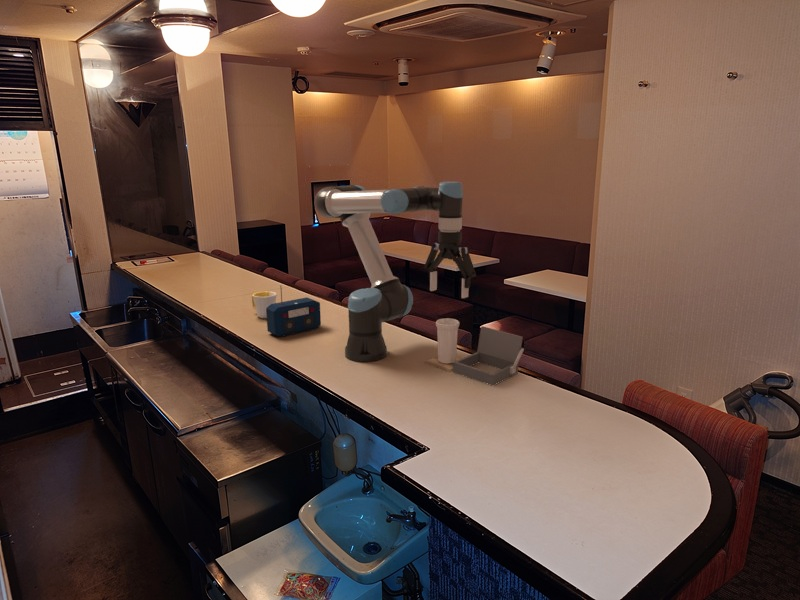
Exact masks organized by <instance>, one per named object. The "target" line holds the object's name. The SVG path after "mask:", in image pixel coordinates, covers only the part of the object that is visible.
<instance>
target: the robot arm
mask: <svg viewBox="0 0 800 600" xmlns="http://www.w3.org/2000/svg"><path fill="white" fill-rule="evenodd" d="M438 185H439V186H438V187H433V186H432V187H430V186H424V185H422V186H421V185H420V186H419V185H418V186H414V187H410V188H391V189H372V190H371V189H369V190H367V189H366V188H365V187H363V186H361V185H359V184H358V185H357V184H349V185H339V186H335V185H334V186H326V187H323V188H321V189H320V190H319V191H318V192H317V193H316V195H315V197H314V201H313V202H314V207H315V210H316V211H317V213H318V214H319V215H320V216H322V217H323V218H326V219H339V220H340V222H341V225H342V226H343V227H346V228H348V232H349V233H350V236H351V238H352V241H353V243H354V245H355V247H356V250H357V252H358V255H359V258H360V260H361V262H362V264H363V266H364V267H363V268H364V270H365V272H366V274H367V276H368V278H369V281H370V283H371V286H370V287H366V288H360V289H357V290H354V291H352V292H351V293H350V294H349V296H348V303H347V309H348V310H347V311H348V333H349V334H348V337H347V340H346V341H347V342H346V346H345V348H344V355H345V358H346V359H348V360H351V361H355V362H362V363H363V362H364V363H365V362H367V363H368V362H375V361H379V360H382V359H384V358H385V357H386V356H387V355H388V348H387V345H386V342H385V339H384V335H383V333H382V332H383V329H382V328H383V327H382V325H383V324H384V323H385V322H388V321H393V320H395V319H400V318H402V317H404V316H406V315H408V314H409V313H410V311H411V310H412V306H413V304H414V295H413V293H412V290H411V289H410V288H409V286H407V285H405V284H402V283H401V281H400V278H399V277H397V276H395V275H393V272H392V270H391V268H390V266H389V263H388V261H387V259H386V256H385V254H384V252H383V249H382V246H381V244H380V242H379V240H378V237H377V235H376V232H375V230H374V228H373V226H372V222H371V221H370V216H371V214H390V215H399V214H405V213H413V212H421V211H433V212H434V211H435V212H438V230H439V231H438V235H437V237H438V239H437V241H438V242H433V243H431V247H430V252H429V254H428V256H427V259H426V261H425V263H424V266H423V268H424V270H427V271H428V280H429V291H430V292H434V291H436V290H438V289H437V288H438V271H437V268H439V267H438V266H440V264H441V263H442V262H443V260H444V259H448V260H452V261H453V262H454V263H455V265H456V266H457V268H458V269H459V271H460V272H461V275H462V278H461V299H466V298H469V290H470V288H471V279H472V278H474V277H477V273H476V271H475V267H474V264H473V261H472V258H471V256H470V250H469V246H466V247H465V246H464V247H461V243H462V239H463V238H462V237H463V236H462V231H461V230H462V229H463V225H462V224H463V203H464V202H463V201H464V198H463V197H464V192H463V191H464V190H463V187H464V186H463V183H462V182H460V181H441V182H439V184H438ZM382 323H383V324H382Z"/></svg>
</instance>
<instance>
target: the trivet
mask: <svg viewBox="0 0 800 600" xmlns="http://www.w3.org/2000/svg"><path fill="white" fill-rule="evenodd" d="M462 358H463V357H462ZM462 358H461V357H458V356H456V361H457V360H460V359H462ZM424 363H425V364H426V365H430V366H432V367H436V368H439V369H440V370H444V371H447V372H453V363H441V362H439V361H438V356H435V357H433V358H430V359H428V360H426V361H425V360H424Z"/></svg>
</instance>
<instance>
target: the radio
mask: <svg viewBox="0 0 800 600" xmlns="http://www.w3.org/2000/svg"><path fill="white" fill-rule="evenodd" d="M279 287H280V299H281V300H280V301H281V302H276V303H274V304H271V305H269V306H268V307H267V308H266V315H267V318H266V326H267V332H269V333H270V334H272V335H275V336H276V337H279V338H283V337H287V336H291V335H296V334H300V333H304V331H305V332H308V330H309V331H313V330H317V329H318V328H319V327H320V326H321V325H322V322H321V321H322V320H321V303H320V302H319V301H318V300H315V299H312V298H309V297H302V298H296V299H291V300H285V301H283V294H282V293H283V292H282V284H280V285H279ZM316 328H317V329H316ZM312 329H313V330H312Z"/></svg>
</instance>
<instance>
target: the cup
mask: <svg viewBox="0 0 800 600" xmlns="http://www.w3.org/2000/svg"><path fill="white" fill-rule="evenodd" d="M435 326H436V329H437V331H436V332H437V333H436V334H437V357H438V361H439V362H441V363H453V362H455V361H456V357H457V350H458V349H457V348H458V332H459V327H460V321H459V320H457V319H455V318H449V317H447V318H439V319H437V320H436V321H435Z"/></svg>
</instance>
